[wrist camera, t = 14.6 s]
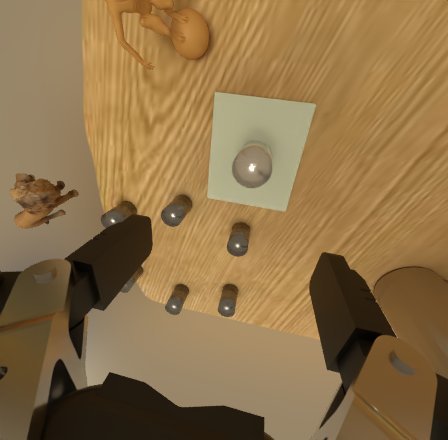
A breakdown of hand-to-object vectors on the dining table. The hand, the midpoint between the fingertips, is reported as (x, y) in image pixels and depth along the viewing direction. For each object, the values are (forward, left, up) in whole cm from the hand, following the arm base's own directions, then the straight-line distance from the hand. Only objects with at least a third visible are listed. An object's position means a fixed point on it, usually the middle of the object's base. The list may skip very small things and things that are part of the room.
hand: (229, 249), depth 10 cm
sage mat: (0, 0, -22) cm, 22 cm away
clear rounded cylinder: (0, 0, -21) cm, 21 cm away
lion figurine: (+33, +12, -22) cm, 42 cm away
